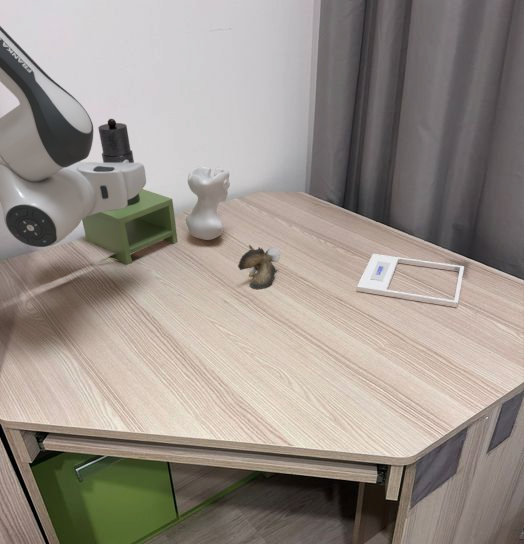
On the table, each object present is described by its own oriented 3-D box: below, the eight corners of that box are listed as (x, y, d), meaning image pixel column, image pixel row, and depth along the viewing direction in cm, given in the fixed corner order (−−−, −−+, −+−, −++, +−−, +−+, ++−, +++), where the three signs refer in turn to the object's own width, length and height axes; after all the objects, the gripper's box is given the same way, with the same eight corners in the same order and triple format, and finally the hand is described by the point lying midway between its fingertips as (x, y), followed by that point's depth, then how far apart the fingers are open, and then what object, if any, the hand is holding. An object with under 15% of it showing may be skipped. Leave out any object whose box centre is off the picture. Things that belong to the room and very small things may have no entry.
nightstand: (88, 246, 119) (78, 203, 113) (138, 226, 128) (131, 185, 122) (127, 264, 112) (118, 219, 106) (177, 242, 120) (172, 198, 114)
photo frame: (373, 252, 111) (464, 265, 105) (372, 257, 112) (463, 270, 106) (357, 285, 100) (458, 301, 94) (356, 290, 101) (456, 307, 95)
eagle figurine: (238, 260, 109) (228, 274, 101) (257, 232, 106) (249, 243, 98) (269, 282, 110) (262, 297, 102) (288, 254, 107) (283, 267, 99)
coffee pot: (135, 206, 111) (121, 122, 101) (107, 206, 112) (90, 122, 102) (147, 190, 119) (135, 110, 109) (121, 190, 119) (107, 110, 110)
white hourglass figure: (180, 240, 121) (172, 173, 112) (212, 223, 128) (207, 159, 119) (212, 250, 116) (206, 181, 107) (244, 232, 123) (241, 167, 115)
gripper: (18, 206, 92) (51, 179, 103) (134, 208, 90) (155, 181, 101) (7, 169, 88) (43, 146, 100) (128, 170, 87) (151, 146, 98)
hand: (101, 163), depth 100 cm, fingers open, 8 cm apart
